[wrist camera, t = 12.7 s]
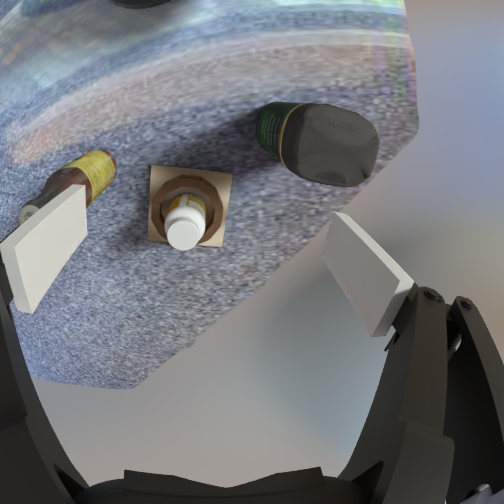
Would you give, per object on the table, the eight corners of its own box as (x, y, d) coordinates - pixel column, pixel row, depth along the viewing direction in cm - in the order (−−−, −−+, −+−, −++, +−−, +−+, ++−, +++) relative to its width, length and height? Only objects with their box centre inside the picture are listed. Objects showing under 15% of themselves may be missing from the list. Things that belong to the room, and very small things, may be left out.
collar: (152, 165, 39) (148, 169, 37) (232, 173, 42) (234, 178, 39) (148, 238, 45) (145, 246, 42) (221, 244, 47) (222, 253, 45)
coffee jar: (252, 149, 40) (281, 183, 24) (261, 98, 37) (298, 93, 21) (313, 160, 42) (374, 199, 26) (323, 111, 38) (394, 122, 22)
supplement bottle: (173, 226, 44) (164, 257, 35) (168, 193, 41) (157, 218, 32) (207, 223, 44) (207, 254, 36) (204, 189, 41) (202, 213, 33)
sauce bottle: (94, 140, 36) (20, 174, 19) (126, 161, 38) (68, 209, 21) (75, 175, 38) (4, 229, 20) (105, 196, 40) (47, 261, 23)
